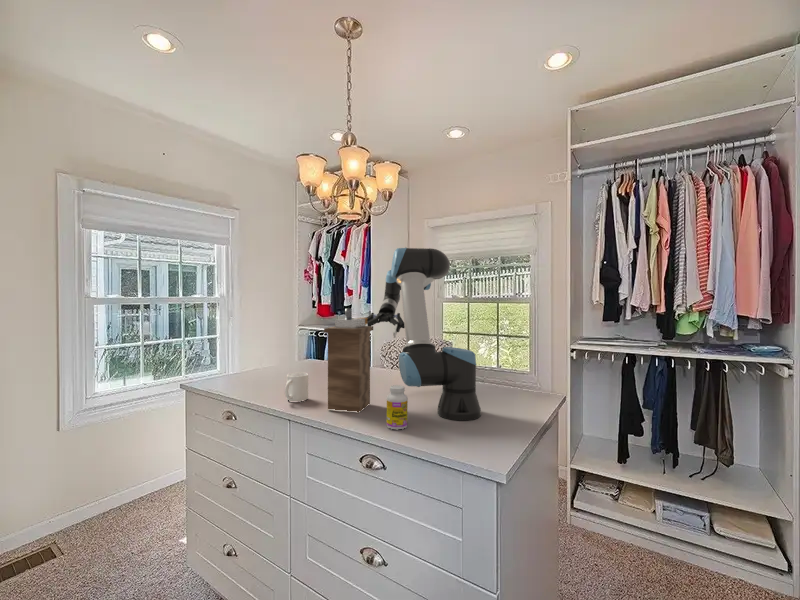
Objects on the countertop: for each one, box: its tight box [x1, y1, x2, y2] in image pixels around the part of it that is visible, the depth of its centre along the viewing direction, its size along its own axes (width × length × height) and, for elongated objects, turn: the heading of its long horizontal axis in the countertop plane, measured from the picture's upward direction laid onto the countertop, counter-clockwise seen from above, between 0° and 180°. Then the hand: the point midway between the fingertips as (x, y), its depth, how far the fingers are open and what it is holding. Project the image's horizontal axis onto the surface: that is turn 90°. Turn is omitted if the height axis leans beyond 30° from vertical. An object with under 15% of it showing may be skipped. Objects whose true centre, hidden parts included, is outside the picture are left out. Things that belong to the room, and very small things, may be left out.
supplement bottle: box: [386, 384, 409, 430], centre depth 123 cm, size 7×7×13 cm
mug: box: [284, 372, 309, 401], centre depth 153 cm, size 12×8×10 cm
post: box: [323, 325, 374, 412], centre depth 145 cm, size 14×14×30 cm
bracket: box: [334, 308, 367, 328], centre depth 150 cm, size 20×8×7 cm, turn 166°
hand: (378, 335), depth 168 cm, fingers open, 13 cm apart
